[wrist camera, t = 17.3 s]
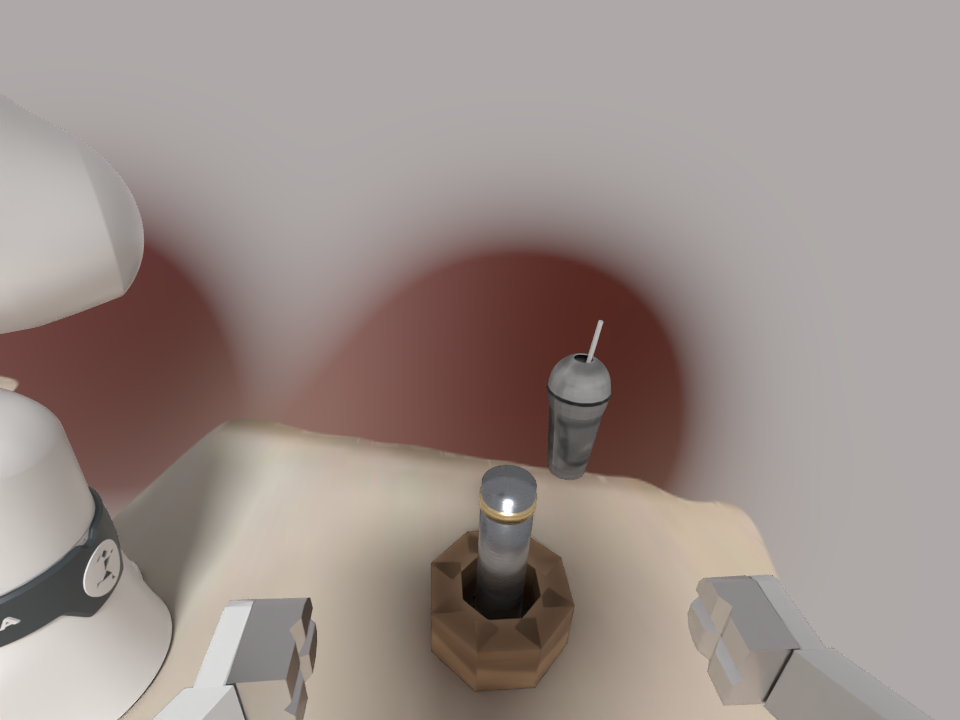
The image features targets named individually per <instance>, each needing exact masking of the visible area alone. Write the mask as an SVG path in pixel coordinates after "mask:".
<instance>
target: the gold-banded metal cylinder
mask: <svg viewBox="0 0 960 720" xmlns="http://www.w3.org/2000/svg"><path fill="white" fill-rule="evenodd" d="M536 488H537V484H536V480H535V478H534V477H533V476H532V475H531V474H530V473H529V472H528V471H526V470H525V469H523V468H520V467H517V466H512V465H501V466H497V467H494V468H492V469H490V470H488V471H487V472H486V473H485V474H484V476H483V478H482V486H481V489H480V500H479V505H480V524H479V542H478V560H477V578H476V596H475V610H476V611H478V612H479V613H480V614H481V615H483V616H484V617H485V618H486V619H488V620H499V619H518V618H521V610H522V602H523V594H524V586H525V577H526V569H527V561H528V553H529V545H530V537H531V529H532V521H533V514H534V512H535V508H536V500H537V494H536Z"/></svg>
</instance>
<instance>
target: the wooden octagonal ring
mask: <svg viewBox="0 0 960 720" xmlns="http://www.w3.org/2000/svg"><path fill="white" fill-rule="evenodd" d="M478 542H479V531H470V532H467V533H465V534H464V535H463V536H462V537H461V538H460V539H459V540H457V541H456V542H455V543H454V544H453V545H452V546H450V547H449V548H448V549H447V550H446V551H445V552H444V553H442V554H441V555H440V556H439V557H438V558H437V559H435V560H434V561H433V562H432V563H431V601H432V612H431V651H432V652H433V653H434V654H435V655H436V656H437V657H438V658H439V659H440V660H442V661H443V662H444V663H445V664H446V665H447V666H448V667H449V668H450V669H451V670H452V671H454V672H455V673H456V674H457V675H458V676H459V677H460V678H461V679H462V680H463V681H464V682H466V683H467V684H468V685H469V686H470V687H471V688H472V689H473V690H474V691H475V692H476V691H486V690H501V689H516V688H531V687H534V688H535V687H536V685H537V684H538V682H539V681H540V680H541V678H542V677H543V675H544V674H545V673H546V671H547V670H548V669H549V667H550V666H551V665H552V663H553V662H554V660H555V659H556V658H557V656H558V655H559V654H560V652H561V651H562V649H563V648H564V647H565V645H566V644H567V640H568V635H569V630H570V625H571V620H572V615H573V611H574V603H573V599H572V596H571V592H570V588H569V585H568V581H567V577H566V574H565V570H564V566H563V563H562V559H561V557H559V556H558V555H556V554H555V553H553V552H552V551H550V550H549V549H547V548H546V547H544V546H542V545H541V544H539V543H538V542H536V541H535V540H533V539H532V538H530V545H529V553H528V561H527V569H526V577H525V586H524V594H523V601H524V602H525V603H527V604H528V605H529V606H530V610H529V611H528V612H527V613H526V614H525V615H524V617H523V618H518V619H499V620H488V619H486V618H485V617H484V616H483V615H481V614H480V613H479V612H478V611H476V610H475V609H474V608H473V607H471V606H470V605H469V604H468V603H467V602H468V601H469V600H470V599H471V598H472V597H473V596H474V595H475V594H476V578H477V560H478Z"/></svg>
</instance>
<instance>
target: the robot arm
mask: <svg viewBox="0 0 960 720" xmlns="http://www.w3.org/2000/svg"><path fill="white" fill-rule="evenodd" d="M143 248H144V232H143V225H142V220H141V216H140V213H139V210H138V207H137V205H136V203H135V200H134V198H133V196H132V194H131V192H130V191H129V189H128V187H127V185H126V184H125V182H124V181H123V180H122V178H121V177H120V176H119V174H118V173H117V172H116V170H114V168H113V167H112V166H111V165H110V164H109V163H108V162H107V161H106V160H105V159H104V158H103V157H102V156H101V155H100V154H99V153H97V152H96V151H95V150H94V149H93V148H91V147H90V146H89V145H87V144H86V143H85V142H84V141H82V140H80V139H79V138H77V137H76V136H74V135H73V134H71V133H70V132H68V131H65V130H63V129H61V128H59V127H57V126H55V125H53V124H51V123H49V122H47V121H45V120H43V119H41V118H39V117H38V116H36V115H34V114H33V113H31V112H29V111H28V110H26V109H24V108H23V107H21V106H19V105H18V104H16V103H15V102H13V101H12V100H10V99H9V98H7V97H6V96H4V95H3V94H1V93H0V334H2V333H8V332H13V331H18V330H23V329H28V328H33V327H38V326H41V325H44V324H47V323H50V322H53V321H56V320H59V319H61V318H64V317H67V316H70V315H73V314H76V313H78V312H81V311H84V310H87V309H89V308H91V307H94V306H97V305H100V304H102V303H105V302H107V301H110V300H113V299H115V298H118V297H120V296H122V295H124V293H125V292H126V291H127V290H128V288H129V287H130V285H131V284H132V282H133V280H134V278H135V277H136V274H137V272H138V270H139V267H140V264H141V260H142V256H143ZM106 509H107V508H106V506H105V504H104V502H103V501H102V500H101V498H100V496H99V494H98V493H97V492H96V491H95V490H94V489H92V488H91V487H89V486H88V485H87V483H86V481H85V478H84V476H83V473H82V471H81V469H80V466H79V464H78V462H77V459H76V457H75V455H74V452H73V450H72V448H71V446H70V443H69V442H68V439H67V436H66V434H65V432H64V429H63V427H62V425H61V423H60V421H59V420H58V418H57V417H56V416H55V415H54V414H52V412H51V411H49V410H48V409H47V408H45V407H44V406H43V405H41V404H39V403H38V402H36V401H34V400H32V399H30V398H28V397H25V396H23V395H21V394H18V393H15V392H13V391H10V390H6V389H3V388H0V720H118V719H119V718H120V717H121V716H122V715H123V714H124V713H125V712H126V711H127V710H128V709H129V708H130V707H131V706H132V705H133V704H134V703H135V702H136V701H137V700H138V698H139V697H140V696H141V695H142V694H143V692H144V691H145V690H146V689H147V687H148V686H149V684H150V683H151V682H152V680H153V679H154V677H155V676H156V674H157V672H158V671H159V669H160V667H161V665H162V663H163V661H164V659H165V656H166V654H167V651H168V648H169V645H170V641H171V635H172V620H171V616H170V613H169V610H168V608H167V606H166V605H165V603H164V602H163V601H162V600H161V599H160V598H159V597H158V596H157V595H156V594H155V593H154V592H153V591H152V590H151V589H150V588H149V587H148V585H147V584H146V583H145V582H144V580H143V578H142V574H141V572H140V570H139V568H138V567H137V565H136V564H135V563H134V562H133V561H131V560H128V558H127V557H126V555H125V554H124V552H123V551H122V549H121V548H120V544H119V540H118V536H117V532H116V529H115V527H114V525H113V522H112V520H111V518H110V516H109V514H108V512H107V510H106ZM696 590H697V592H698V594H699V597H698V598H697V599H696V600H694V601H693V602H692V603H691V605H690V608H689V611H688V624H689V630H690V633H691V637H692V639H693V642H694V644H695V646H696V648H697V650H698V651H699V652H700V653H701V654H703V655H704V656H705V657H706V658H707V659H708V660H709V666H708V671H707V672H708V674H709V676H710V678H711V680H712V682H713V685H714V687H715V689H716V691H717V693H718V695H719V697H720V699H721V701H722V704H723V705H747V704H764V707H765V708H766V709H767V710H768V711H769V712H770V713H771V714H772V715H773V716H774V717H775V718H776V719H777V720H935V719H934V718H932V717H931V716H929V715H928V714H927V713H925V712H924V711H922V710H921V709H919V708H918V707H917V706H915V705H914V704H912V703H911V702H910V701H908V700H907V699H905V698H904V697H902V696H901V695H900V694H898V693H897V692H895V691H894V690H893V689H891V688H890V687H888V686H887V685H885V684H884V683H882V682H881V681H880V680H878V679H877V678H875V677H874V676H873V675H871V674H870V673H868V672H867V671H866V670H864V669H863V668H861V667H860V666H858V665H857V664H855V663H854V662H853V661H851V660H850V659H848V658H847V657H845V656H844V655H843V654H841V653H840V652H839V651H837V650H836V649H834V648H826V647H825V645H824V644H823V642H822V641H821V640H820V638H819V637H818V636H817V634H816V633H815V631H814V630H813V628H812V627H811V626H810V624H809V623H808V621H807V620H806V618H805V617H804V615H803V614H802V613H801V611H800V610H799V608H798V607H797V606H796V604H795V603H794V601H793V600H792V598H791V597H790V596H789V594H788V593H787V591H786V590H785V589H784V587H783V586H782V584H781V583H780V581H779V580H778V579H777V578H775V577H774V576H773V575H757V576H746V575H744V576H729V577H713V578H703V579H702V580H700V581H699V583H698V586H697V588H696ZM312 609H313V607H312V603H311V599H310V598H282V599H246V600H230V601H229V603H228V604H227V605H226V607H225V608H224V610H223V612H222V615H221V617H220V620H219V622H218V625H217V627H216V630H215V633H214V635H213V638H212V640H211V643H210V645H209V648H208V650H207V653H206V655H205V658H204V660H203V663H202V665H201V668H200V670H199V673H198V676H197V678H196V681H195V683H194V686H193V687H189V688H184V689H183V690H182V691H181V692H180V693H179V694H178V695H177V696H176V697H175V698H174V699H173V700H172V701H171V702H170V703H169V704H168V705H167V706H166V707H165V708H164V709H163V710H162V711H160V712H159V713H158V714H157V715H156V716H155V717H154V718H153V719H152V720H303V718H304V713H305V709H306V704H307V699H308V697H307V692H306V687H305V682H306V681H307V679H308V678H309V677H310V676H311V675H312V674H313V669H314V663H315V658H316V647H317V630H316V624H315V622H314V621H312V620H311V619H310V618H311V614H312Z"/></svg>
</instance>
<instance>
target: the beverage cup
mask: <svg viewBox="0 0 960 720" xmlns="http://www.w3.org/2000/svg"><path fill="white" fill-rule="evenodd" d="M602 324H603V321H601V320H599V321H598V325H597V328H596V332H595V335H594V338H593V341H592V344H591V348H590V351H589V354H583V353H577V354H572V355H569V356H567V357H565V358H563V359H562V360H561V361H559V363H557V365H556V366H555V367H554V368H553V370H552V372H551V375H550V379H549V380H548V383H547V389H548V401H549V438H548V461H549V464H548V466H549V470H550V471H551V472H552V474H554V475H555V476H557V477H559V478H562V479H566V480H574V479H578V478H580V477H581V476H582V475H583V474H584V472H585V468H586V466H587V463H588V460H589V457H590V454H591V451H592V447H593V444H594V441H595V437H596V434H597V430H598V427H599V423H600V420H601V417H602V414H603V412H604V410H605V408H606V406H607V404H608V400H609V399H610V397H611V381H610V376H609V373H608V371H607V369H606V368H605V366H604V365H603V363H601V362H600V361H599V360H598V359H597V358H595V357H593V354H594V351H595V348H596V344H597V341H598V337H599V334H600V331H601V328H602Z"/></svg>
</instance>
